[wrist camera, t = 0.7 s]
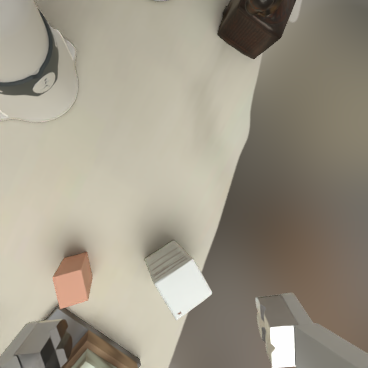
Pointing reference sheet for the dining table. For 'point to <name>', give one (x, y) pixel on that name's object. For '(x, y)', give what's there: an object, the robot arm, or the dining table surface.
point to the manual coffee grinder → (254, 24)
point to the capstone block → (73, 280)
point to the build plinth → (82, 328)
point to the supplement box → (177, 278)
